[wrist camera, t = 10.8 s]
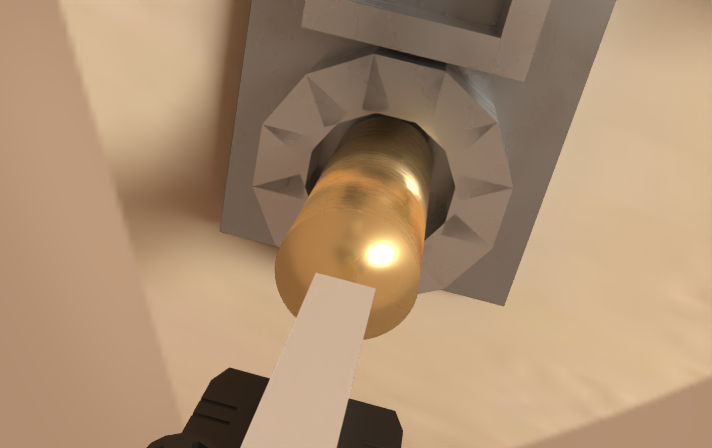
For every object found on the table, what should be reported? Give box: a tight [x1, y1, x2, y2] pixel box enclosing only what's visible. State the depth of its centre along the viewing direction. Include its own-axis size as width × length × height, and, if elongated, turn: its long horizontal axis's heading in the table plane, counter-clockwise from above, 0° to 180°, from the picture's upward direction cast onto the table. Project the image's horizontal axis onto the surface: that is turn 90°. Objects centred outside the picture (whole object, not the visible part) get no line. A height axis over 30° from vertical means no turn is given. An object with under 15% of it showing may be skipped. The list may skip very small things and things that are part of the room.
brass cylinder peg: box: [275, 116, 433, 340], centre depth 23 cm, size 4×4×10 cm
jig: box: [220, 0, 616, 306], centre depth 25 cm, size 18×13×5 cm
